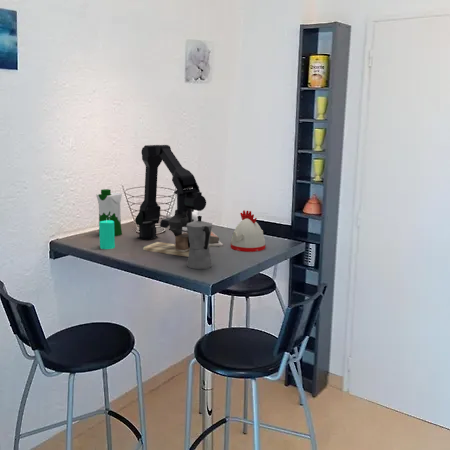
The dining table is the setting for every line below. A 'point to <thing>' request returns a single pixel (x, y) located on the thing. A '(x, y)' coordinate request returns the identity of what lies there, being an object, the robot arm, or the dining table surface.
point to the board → (165, 249)
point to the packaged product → (214, 240)
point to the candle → (107, 234)
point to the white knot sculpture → (194, 216)
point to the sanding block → (181, 242)
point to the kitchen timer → (248, 235)
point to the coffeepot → (199, 244)
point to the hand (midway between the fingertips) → (184, 246)
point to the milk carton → (110, 208)
